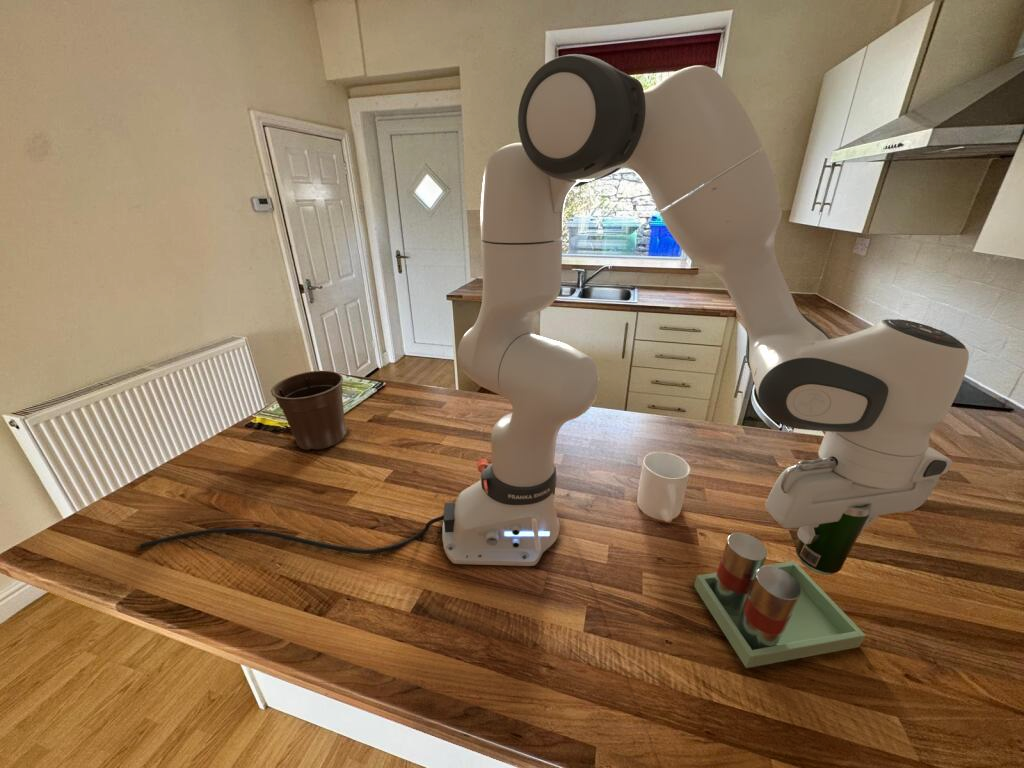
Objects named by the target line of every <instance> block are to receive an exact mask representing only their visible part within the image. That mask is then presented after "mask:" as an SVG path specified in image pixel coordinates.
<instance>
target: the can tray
mask: <svg viewBox="0 0 1024 768" xmlns="http://www.w3.org/2000/svg"><path fill="white" fill-rule="evenodd" d="M763 566H773V567H776V568H779V569H782V570H784V571H785V572H787V573H789V574H790V575H791V576H792V577H793V578H794V579H795V580H796V581H797V582H798V584H799V586H800V588H801V595H800V597H799V599H798V601H797V603H796V606H795V608H794V610H793V612H792V615H791V618H790V620H789V622H788V624H787V626H786V628H785V630H784V632H783V634H782V636H781V638H780V640H779V642H778V645H777V646H772V647H766V648H761V649H755V650H752V649H751V648H750V646H749V645H748V643H747V642H746V640H745V639H744V637H743V636H742V634H741V633H740V631H739V630H738V628H737V627H736V626H737V623H738V621H739V618H740V616H732V615H728V613H727V612H726V610H725V609H724V608H723V606H722V605H721V603H720V602H719V600H718V599H717V597H716V596H715V594H714V593H713V591H712V588H713V585H714V581H715V578H716V575H717V572H712V573H704V574H698V575H696V578H695V582H694V584H693V585H694V589H695V590H696V592H697V593H698V595H699V596H700V598H701V600H702V601H703V603H704V604H705V606H706V608H707V609H708V611H709V612H710V614H711V615H712V617H713V619H714V620H715V622H716V623H717V625H718V626H719V628H720V630H721V631H722V632H723V634H724V636H725V637H726V639H727V641H728V642H729V644H730V645H731V647H732V648H733V650H734V651H735V653H736V655H737V657H738V658H739V659H740V661H741V663H742V664H743V666H744V668H746V669H749V668H754V667H759V666H764V665H770V664H775V663H781V662H787V661H792V660H797V659H802V658H807V657H812V656H818V655H823V654H829V653H834V652H839V651H845V650H850V649H856V648H859V647H860V646H861V645H862V643H863V641H864V639H865V638H866V636H867V635H866V634H865V633H864V632H863V631H862V630H861V629H860V627H858V625H857V624H856V623H854V621H853V620H852V619H851V618H850V617H849V616H848V615H847V614H846V613H845V612H844V611H843V610H842V609H841V608H840V606H838V605H837V603H836V602H835V601H833V599H832V598H831V597H830V596H829V595H828V594H827V593H826V592H825V591H824V590H823V589H822V588H821V586H820V585H819V584H818V583H816V582H815V581H814V579H812V577H811V576H810V575H809V574H808V573H807V572H806V571H805V570H804V569H803V568H802V566H800V565H799V563H797V562H796V560H790V561H785V562H784V561H783V562H777V563H770V564H765V565H764V564H763ZM763 566H762V567H763Z"/></svg>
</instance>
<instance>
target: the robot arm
mask: <svg viewBox="0 0 1024 768" xmlns="http://www.w3.org/2000/svg"><path fill="white" fill-rule="evenodd" d="M643 87H644V86H643V85H642V82H641V81H640V80H638V79H637V78H636V77H634V76H631V75H629V74H627V73H626V72H624V71H622V70H620V69H618V68H616V67H615V66H613V65H611V64H610V63H607V62H606V61H604V60H602V59H600V58H598V57H595V56H591V55H587V54H581V53H580V54H577V53H572V54H565V55H561V56H558V57H555V58H552V59H550V60H549V61H548V62H546V63H544V64H543V65H541V66H540V67H539V69H538V70H536V71H535V73H534V74H533V75H532V76H531V78H530V79H529V81H528V82H527V84H526V86H525V88H524V90H523V93H522V96H521V97H520V101H519V106H518V111H517V112H518V113H517V131H518V135H519V136H518V137H519V139H520V142H514V143H510V144H507V145H504V146H502V147H500V148H499V149H497V150H496V151H494V152H493V153H492V154H491V155H490V156H489V157H488V159H487V161H486V164H485V166H484V170H483V177H482V178H483V179H482V186H481V187H482V188H481V197H480V198H481V199H480V202H481V203H480V239H481V240H480V242H481V265H482V297H481V305H480V308H479V309H480V310H479V313H478V316H477V319H476V321H475V323H474V324H473V326H472V327H470V328H469V329H468V330H467V331H465V333H464V335H463V336H462V337H461V340H460V341H459V345H458V347H457V362H458V367H459V368H460V370H461V371H462V372H463V373H464V374H465V375H466V376H467V377H469V378H470V379H471V380H472V381H473V382H475V383H476V384H477V385H478V386H480V387H482V388H484V389H486V390H488V391H490V392H492V393H495V394H497V395H499V396H502V397H504V398H505V399H507V400H508V401H509V403H510V404H511V408H512V409H511V410H512V411H511V412H510V413H508V414H505V415H504V416H502V417H500V419H499V420H498V421H497V422H496V423H495V424H494V426H493V427H492V430H491V433H490V446H491V447H490V448H491V463H490V464H489V463H488V460H487V459H486V458H479V459H478V461H476V467H477V471H478V472H479V473H480V479H479V480H478V481H476V482H475V483H473V484H472V485H470V486H469V487H467V488H465V489H463V490H462V491H461V492H460V493H459V494H458V496H457V498H456V500H455V501H452V502H444V508H443V515H441V516H437V517H435V518H433V519H430V520H429V521H427V522H426V524H425V526H424V528H423V529H421V531H419V532H418V533H416V534H415V535H413V536H412V537H409V538H408V539H406V540H404V541H401V542H397V543H395V544H391V545H388V546H387V545H386V546H383V547H378V548H368V549H366V548H357V547H350V546H342V545H336V544H330V543H324V542H319V541H317V540H316V541H315V540H311V539H306V538H303V537H298V536H294V535H290V534H286V533H283V532H277V531H271V530H264V529H257V528H247V527H224V528H223V527H222V528H211V529H210V528H209V529H202V530H196V531H195V530H194V531H190V532H184V533H179V534H175V535H171V536H170V535H169V536H167V537H163V538H159V539H155V540H149V541H147V542H141V543H140V545H139V548H141V549H142V548H145V547H150V546H154V545H158V544H162V543H165V542H170V541H174V540H178V539H182V538H188V537H194V536H195V537H196V536H200V535H209V534H219V533H247V534H257V535H264V536H269V537H274V538H275V537H276V538H280V539H284V540H287V541H292V542H297V543H299V544H300V543H301V544H305V545H310V546H314V547H318V548H323V549H327V550H334V551H341V552H348V553H353V554H363V555H373V554H379V553H385V552H389V551H393V550H396V549H399V548H401V547H403V546H405V545H407V544H409V543H410V542H412V541H415V540H416V539H418V538H420V537H422V536H423V535H424V534H426V533H427V532H428V531H429V529H430V527H431V525H433V524H435V523H438V522H441V521H443V522H442V528H441V529H442V530H441V531H442V532H441V535H442V536H441V537H442V546H443V551H444V553H445V555H446V557H447V558H448V560H449V561H450V562H451V563H452V564H454V565H476V566H477V565H478V566H510V567H511V566H513V567H514V566H515V567H533V566H536V565H537V564H538V563H539V561H540V560H541V558H542V555H543V553H544V552H545V551H546V550H548V549H549V548H550V547H552V546H553V545H554V544H555V542H556V541H557V539H558V537H559V534H560V529H561V528H560V521H559V518H558V515H557V511H556V506H555V504H556V503H555V494H556V487H557V478H558V477H557V468H556V466H555V455H556V447H557V446H556V444H557V438H558V435H559V431H560V429H561V428H562V427H563V425H565V424H566V423H567V422H569V421H573V420H575V419H578V418H579V417H581V416H582V415H583V414H585V413H586V412H588V410H590V408H591V407H592V406H593V405H594V403H595V401H596V399H597V398H598V394H599V392H600V385H601V376H600V372H599V367H598V364H597V363H596V361H595V360H594V359H593V358H592V357H590V356H589V355H587V354H586V353H584V352H582V351H580V350H579V349H577V348H575V347H573V346H572V345H569V344H568V343H564V342H561V341H558V340H554V339H551V338H547V337H544V336H541V335H538V334H536V332H535V330H534V324H535V319H536V316H537V314H538V313H539V312H542V311H544V310H546V309H547V308H549V307H550V306H551V305H552V304H553V303H554V302H555V301H556V300H557V298H558V297H559V295H560V292H561V289H562V266H563V265H562V264H563V261H562V260H563V234H564V233H563V231H564V229H563V228H564V227H563V225H564V208H565V203H566V200H567V197H568V195H569V192H571V190H572V189H573V188H578V187H581V186H583V185H587V184H590V183H591V182H594V181H597V180H601V179H603V178H606V177H609V176H611V175H613V174H614V173H616V172H618V171H619V170H621V169H622V168H623V169H624V168H625V169H627V170H630V171H632V172H633V173H635V174H636V175H637V176H638V177H639V179H640V180H641V181H642V183H643V184H644V186H645V187H646V189H647V191H648V192H649V194H650V197H651V199H652V201H653V203H654V205H655V207H656V209H657V211H658V212H659V215H660V217H661V219H662V221H663V224H664V225H665V227H666V229H667V230H668V232H669V234H670V235H671V237H672V238H673V239H674V241H675V242H676V244H677V245H678V246H679V247H680V249H681V250H682V251H683V253H684V254H685V255H686V256H687V258H689V260H690V261H691V262H693V263H695V264H697V265H699V266H701V267H704V268H706V269H708V270H709V271H711V272H712V273H713V274H715V276H716V277H717V278H718V279H719V280H720V281H721V283H722V284H723V286H724V287H725V289H726V290H727V292H728V295H729V296H730V299H731V301H732V303H733V304H734V307H735V309H736V310H737V313H738V314H739V317H740V319H741V321H742V323H743V325H744V328H745V331H746V346H745V358H746V359H745V360H746V363H747V367H748V369H749V371H750V372H751V376H752V380H753V384H754V389H755V393H756V395H757V399H758V403H759V405H760V407H761V409H762V410H763V412H764V413H765V414H766V415H767V416H768V417H769V418H770V419H771V420H773V421H775V423H778V424H780V425H782V426H785V427H788V428H791V429H797V430H805V431H816V432H825V433H824V435H823V438H822V441H821V443H820V446H819V448H818V450H817V453H818V457H819V458H817V459H811V460H809V459H804V460H800V461H798V462H797V463H796V464H795V465H791V466H789V467H787V468H786V469H784V470H783V471H782V472H781V473H780V475H779V476H778V478H777V479H776V481H775V483H774V484H773V486H772V488H771V490H770V493H769V494H768V496H767V499H766V501H765V504H764V507H765V510H766V511H767V513H768V514H769V516H771V518H773V519H774V520H775V521H776V522H777V524H779V525H780V526H781V527H782V528H784V529H786V530H787V529H788V530H789V529H796V528H798V531H797V533H796V536H797V538H798V540H799V539H800V540H801V541H802V542H803V543H804V544H811V543H816V542H817V541H818V540H817V539H819V537H820V534H819V533H818V532H816V531H815V530H814V527H818V526H819V524H824V523H831V522H838V521H839V520H840V519H841V517H842V514H843V513H844V512H845V511H846V510H847V509H848V507H850V506H851V507H855V506H858V505H864V507H866V506H868V505H869V504H872V505H871V507H870V508H871V512H870V515H869V516H868V518H867V520H866V522H865V524H864V526H863V528H862V530H861V532H860V534H859V536H858V537H860V536H861V535H862V533H863V531H864V529H866V528H867V527H868V526H870V525H871V524H873V523H874V522H875V521H876V520H878V518H879V517H880V516H884V515H885V516H886V515H892V514H900V513H906V512H913V511H915V510H916V509H918V508H919V507H921V506H923V504H924V503H925V502H926V501H927V500H928V498H929V497H930V496H931V494H932V492H933V491H934V489H935V488H936V486H937V484H938V483H939V481H940V477H941V475H945V474H946V473H947V472H948V471H950V469H951V467H952V465H953V464H954V463H953V460H952V459H951V458H949V457H947V456H946V455H945V454H942V453H941V452H939V451H938V450H936V449H934V448H932V447H930V436H931V433H932V431H933V429H934V428H935V427H936V426H938V425H939V424H940V423H941V422H942V421H943V420H944V419H945V418H946V416H947V415H948V412H949V411H950V409H951V407H952V405H953V403H954V401H955V399H956V397H957V395H958V392H959V391H960V388H961V386H962V384H963V381H964V378H965V375H966V373H967V369H968V365H969V356H970V354H969V353H970V352H969V350H968V349H967V347H966V345H965V344H964V343H963V342H961V341H960V340H959V339H957V338H956V337H954V336H953V335H951V334H949V333H948V332H945V331H944V330H942V329H938V328H935V327H933V326H931V325H928V324H924V323H920V322H916V321H912V320H907V319H901V318H900V319H899V318H897V319H894V318H893V319H891V318H890V319H889V318H887V319H886V318H885V319H882V320H880V321H878V322H876V323H875V324H874V325H872V326H869V327H867V328H865V329H862V330H859V331H856V332H853V333H850V334H846V335H843V336H839V337H834V338H830V336H829V335H828V333H827V332H826V330H824V328H823V327H821V326H820V325H819V324H817V323H816V322H815V321H813V320H811V319H810V318H809V317H807V316H806V315H804V314H803V313H802V311H800V309H799V308H798V306H797V304H796V302H795V300H794V297H793V295H792V293H791V291H790V288H789V286H788V284H787V281H786V279H785V277H784V275H783V273H782V270H781V268H780V265H779V263H778V259H777V256H776V249H775V247H776V246H775V240H776V235H777V231H778V228H779V225H780V222H781V219H782V214H783V210H782V204H781V198H780V197H781V196H780V192H779V188H778V183H777V180H776V176H775V172H774V168H773V166H772V164H771V161H770V159H769V155H768V153H767V151H766V148H764V144H763V142H762V140H761V138H760V136H759V134H758V133H759V132H757V129H756V127H755V126H754V123H753V122H752V120H751V118H750V117H749V115H748V113H747V112H746V110H745V108H744V107H743V105H742V104H741V101H740V100H739V99H738V97H737V96H736V94H735V93H734V91H733V90H732V89H731V87H730V86H729V84H728V83H727V82H726V81H725V80H724V78H723V77H722V76H721V75H720V73H719V72H718V71H716V70H715V69H714V68H712V67H709V66H707V65H700V64H699V65H692V66H688V67H687V66H686V67H684V68H682V69H678V70H677V71H675V72H673V73H670V74H669V75H668V76H666V77H664V78H663V79H662V80H660V81H659V82H657V84H655V85H654V86H651V87H649V88H648V89H647V88H646V89H645V90H644V88H643ZM762 148H763V149H762ZM760 149H761V150H760Z"/></svg>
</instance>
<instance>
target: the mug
mask: <svg viewBox="0 0 1024 768" xmlns="http://www.w3.org/2000/svg"><path fill="white" fill-rule="evenodd" d="M690 475H691V466H690V465H689V463H688V462H687V461H686V460H685V459H684V458H682V457H681V456H678V455H677V454H674V453H672V452H666V451H652V452H649V453H647V454H646V455H645V456H644V457H643V461H642V467H641V472H640V477H639V483H638V490H637V496H636V502H637V507H638V508H639V509H640V511H641V512H642V513H643V514H645V515H646V516H648V517H650V518H652V519H655V520H659V521H664V522H666V523H671V522H672V521H673V520H674V519H676V518H677V517H679V515H680V514H681V512H682V508H683V504H684V500H685V495H686V491H687V486H688V483H689V478H690Z"/></svg>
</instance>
